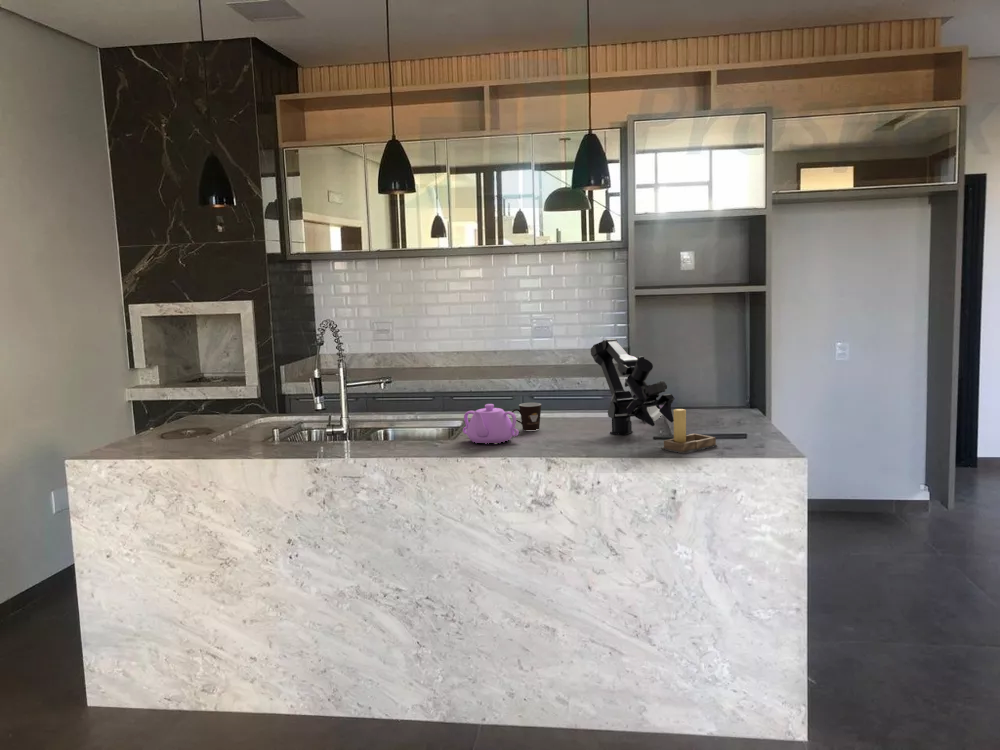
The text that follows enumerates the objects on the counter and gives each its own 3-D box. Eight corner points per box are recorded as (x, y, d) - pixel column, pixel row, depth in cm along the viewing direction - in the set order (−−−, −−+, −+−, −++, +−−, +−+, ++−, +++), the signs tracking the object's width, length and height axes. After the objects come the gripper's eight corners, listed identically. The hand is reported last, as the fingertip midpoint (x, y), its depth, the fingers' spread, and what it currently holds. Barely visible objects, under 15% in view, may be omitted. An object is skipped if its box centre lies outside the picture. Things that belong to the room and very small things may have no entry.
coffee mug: (542, 427, 307) (541, 402, 306) (541, 431, 299) (540, 406, 297) (513, 427, 308) (512, 403, 307) (511, 432, 300) (510, 406, 299)
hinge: (654, 421, 310) (645, 398, 310) (643, 425, 312) (634, 401, 312) (664, 414, 325) (655, 391, 325) (653, 417, 327) (645, 395, 327)
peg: (671, 447, 262) (671, 410, 261) (680, 446, 264) (680, 408, 263) (679, 450, 259) (679, 411, 257) (688, 448, 261) (688, 410, 259)
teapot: (448, 448, 277) (447, 410, 276) (471, 435, 298) (470, 399, 296) (507, 450, 270) (505, 411, 268) (526, 437, 290) (525, 401, 288)
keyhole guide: (683, 453, 256) (683, 444, 255) (661, 448, 264) (661, 440, 263) (716, 446, 265) (716, 437, 264) (694, 441, 273) (694, 433, 272)
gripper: (631, 376, 264) (655, 413, 256) (670, 371, 274) (694, 405, 267) (616, 397, 271) (639, 432, 264) (654, 390, 282) (677, 425, 274)
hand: (663, 423), depth 267 cm, fingers open, 9 cm apart
